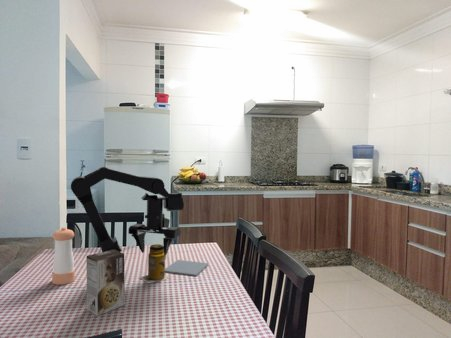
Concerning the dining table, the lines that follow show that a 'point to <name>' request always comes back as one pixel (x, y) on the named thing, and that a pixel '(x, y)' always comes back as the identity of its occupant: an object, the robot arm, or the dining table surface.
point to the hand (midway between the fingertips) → (154, 253)
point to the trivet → (186, 267)
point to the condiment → (155, 264)
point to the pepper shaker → (63, 257)
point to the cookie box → (105, 281)
